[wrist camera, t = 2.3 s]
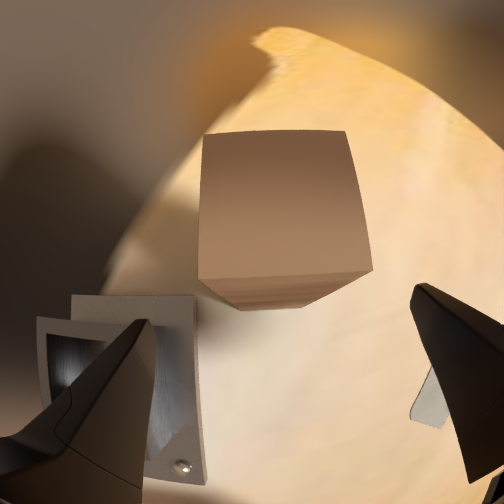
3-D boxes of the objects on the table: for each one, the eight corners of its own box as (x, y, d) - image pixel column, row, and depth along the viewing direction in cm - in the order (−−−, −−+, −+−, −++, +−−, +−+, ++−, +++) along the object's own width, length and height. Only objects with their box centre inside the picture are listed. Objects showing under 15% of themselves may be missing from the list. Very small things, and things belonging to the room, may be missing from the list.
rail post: (301, 307, 18) (373, 270, 6) (240, 311, 18) (198, 279, 6) (297, 249, 19) (345, 131, 7) (239, 252, 19) (203, 134, 7)
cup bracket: (207, 479, 15) (192, 515, 10) (92, 456, 15) (59, 477, 10) (196, 297, 18) (173, 286, 14) (78, 296, 19) (38, 285, 14)
